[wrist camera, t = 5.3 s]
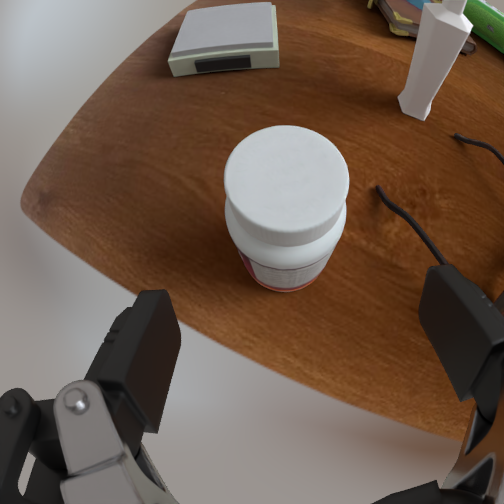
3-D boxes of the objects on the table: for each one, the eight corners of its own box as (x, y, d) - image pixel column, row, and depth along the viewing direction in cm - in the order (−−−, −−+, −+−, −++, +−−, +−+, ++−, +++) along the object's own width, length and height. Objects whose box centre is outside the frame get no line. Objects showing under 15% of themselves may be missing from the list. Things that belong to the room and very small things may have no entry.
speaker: (442, 16, 32) (451, -14, 25) (451, 10, 33) (460, -17, 26) (523, 74, 27) (539, 47, 20) (525, 63, 28) (539, 38, 21)
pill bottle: (246, 213, 24) (218, 116, 13) (325, 215, 23) (352, 118, 12) (240, 292, 22) (200, 242, 11) (326, 295, 21) (367, 247, 11)
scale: (172, 79, 30) (164, 58, 26) (190, 27, 33) (185, 9, 30) (279, 70, 29) (278, 46, 25) (276, 19, 32) (274, 0, 29)
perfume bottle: (401, 85, 27) (436, -25, 12) (435, 106, 26) (482, 0, 11) (386, 105, 26) (424, -19, 12) (423, 128, 25) (478, 10, 11)
